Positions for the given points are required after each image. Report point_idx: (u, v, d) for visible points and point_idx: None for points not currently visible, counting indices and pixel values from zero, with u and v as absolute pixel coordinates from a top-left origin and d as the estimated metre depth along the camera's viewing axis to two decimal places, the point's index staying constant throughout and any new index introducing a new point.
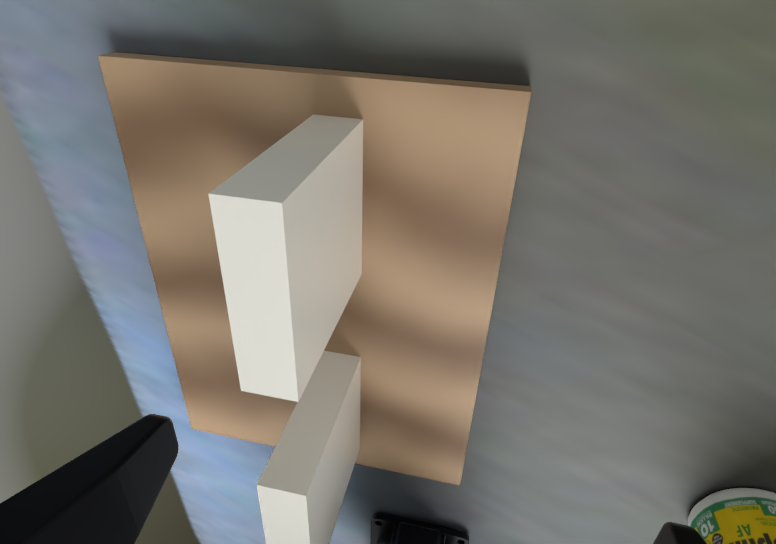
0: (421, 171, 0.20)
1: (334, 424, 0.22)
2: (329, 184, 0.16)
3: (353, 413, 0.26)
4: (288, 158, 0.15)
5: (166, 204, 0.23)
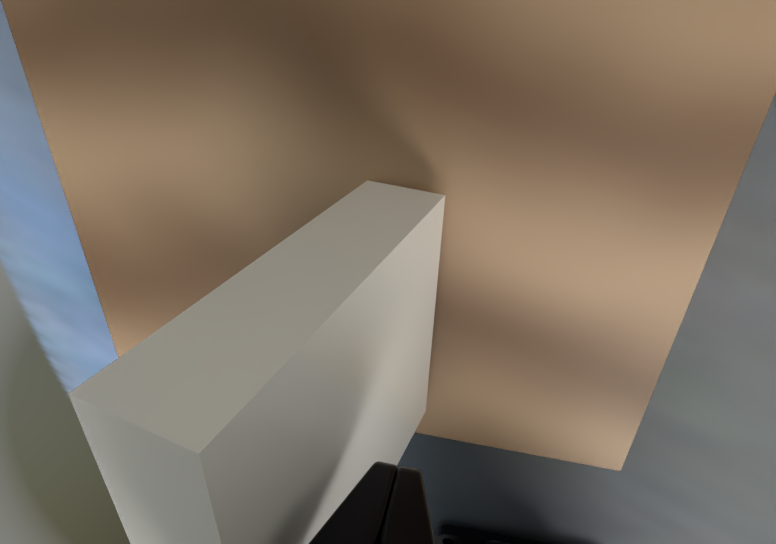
0: None
1: (355, 292, 0.08)
2: None
3: (416, 319, 0.12)
4: None
5: None
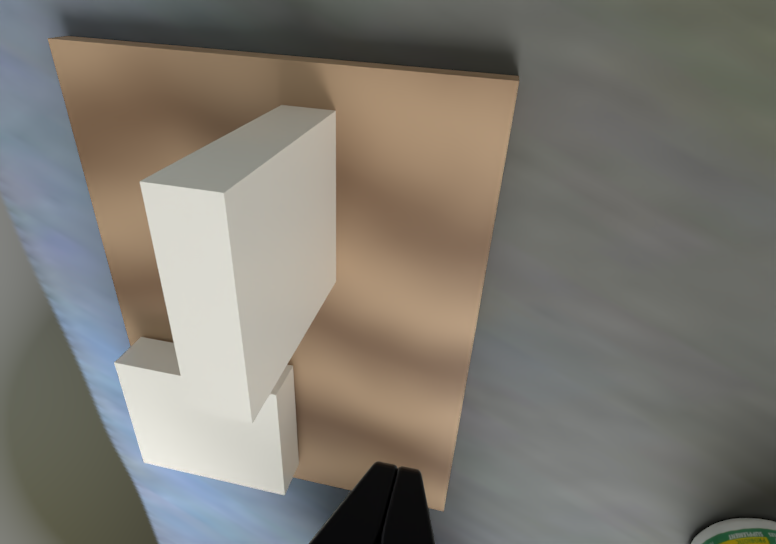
0: (399, 168, 0.18)
1: None
2: (291, 178, 0.14)
3: (251, 430, 0.24)
4: (242, 146, 0.14)
5: (125, 203, 0.21)
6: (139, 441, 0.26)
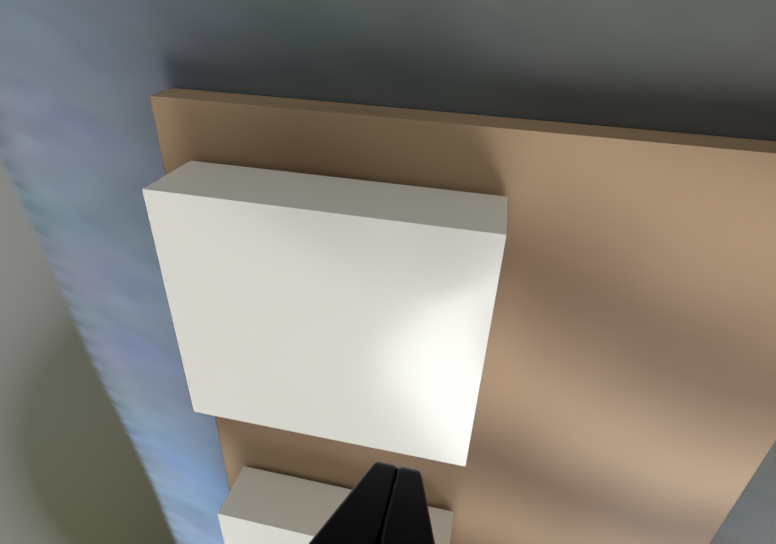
0: (686, 287, 0.12)
1: None
2: (304, 250, 0.11)
3: None
4: (291, 187, 0.12)
5: None
6: None
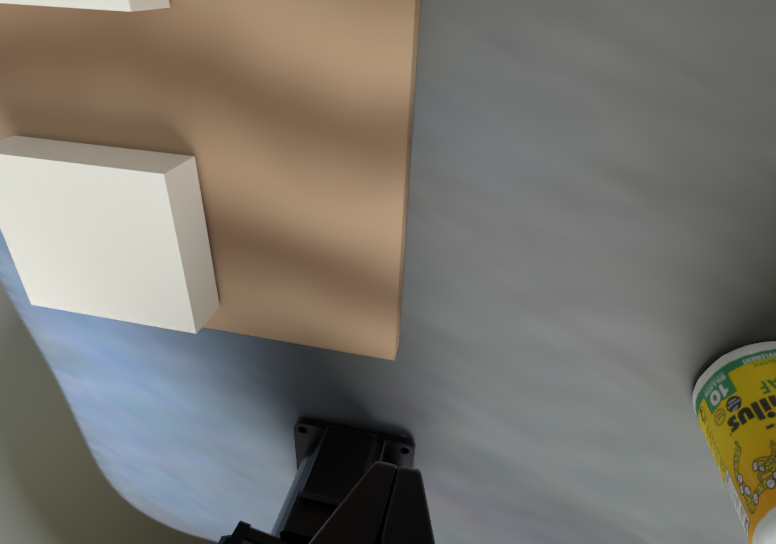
0: None
1: (53, 162, 0.18)
2: None
3: (144, 236, 0.19)
4: None
5: None
6: (20, 273, 0.21)
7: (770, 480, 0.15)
